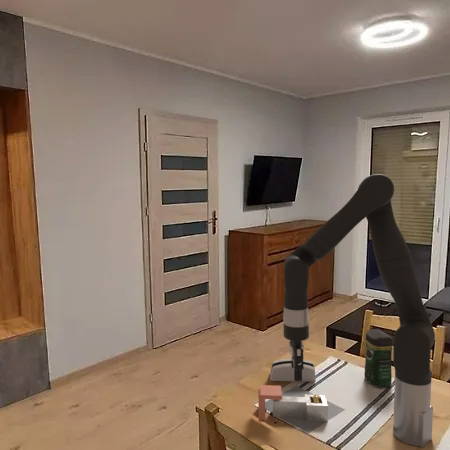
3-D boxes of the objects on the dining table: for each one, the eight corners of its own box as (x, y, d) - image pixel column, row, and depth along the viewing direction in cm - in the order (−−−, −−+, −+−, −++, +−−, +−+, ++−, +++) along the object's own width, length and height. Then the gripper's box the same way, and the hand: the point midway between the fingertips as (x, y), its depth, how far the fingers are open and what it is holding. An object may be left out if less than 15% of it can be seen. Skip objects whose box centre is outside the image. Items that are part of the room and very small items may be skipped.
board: (344, 411, 125) (344, 409, 125) (307, 436, 113) (308, 433, 113) (296, 388, 140) (296, 385, 140) (259, 407, 128) (259, 405, 128)
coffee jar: (395, 387, 140) (397, 336, 138) (374, 389, 139) (375, 337, 137) (381, 374, 149) (382, 326, 147) (361, 376, 148) (362, 327, 146)
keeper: (280, 411, 126) (280, 385, 125) (281, 422, 120) (282, 395, 119) (258, 410, 127) (258, 385, 126) (258, 421, 121) (258, 395, 120)
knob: (319, 418, 122) (319, 396, 121) (316, 420, 121) (316, 398, 120) (315, 415, 123) (315, 394, 123) (312, 417, 122) (312, 396, 122)
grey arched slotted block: (314, 376, 148) (315, 356, 144) (316, 386, 144) (318, 366, 140) (268, 375, 149) (269, 355, 145) (269, 385, 145) (270, 365, 141)
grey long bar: (324, 410, 125) (324, 394, 124) (327, 421, 119) (328, 405, 118) (272, 408, 126) (272, 393, 126) (273, 419, 120) (273, 404, 120)
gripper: (312, 330, 112) (312, 385, 114) (305, 314, 126) (305, 363, 128) (285, 330, 113) (286, 385, 114) (281, 314, 127) (282, 363, 128)
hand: (296, 373), depth 121 cm, fingers open, 8 cm apart
